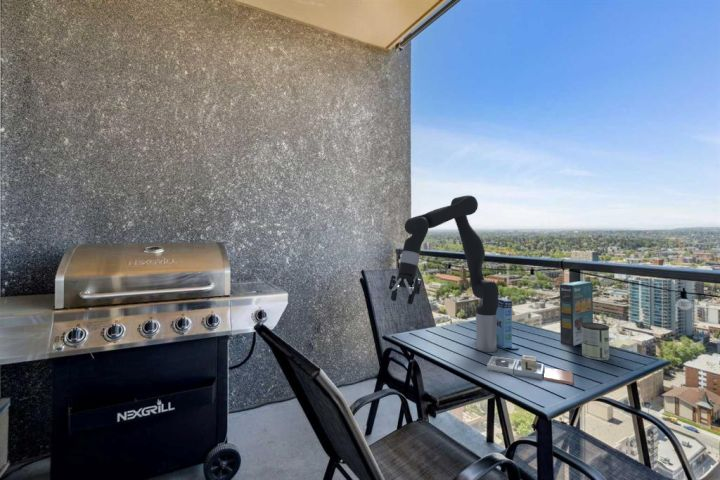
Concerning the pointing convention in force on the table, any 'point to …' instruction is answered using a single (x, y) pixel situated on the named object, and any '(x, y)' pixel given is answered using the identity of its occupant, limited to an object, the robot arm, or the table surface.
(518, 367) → the middle tray
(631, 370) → the table surface
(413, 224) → the robot arm
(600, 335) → the coffee can
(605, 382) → the table surface
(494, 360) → the near tray
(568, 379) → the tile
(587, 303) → the cake mix box
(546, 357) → the table surface
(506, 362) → the grey domed disc
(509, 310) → the gum box
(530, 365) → the letter cube
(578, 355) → the table surface
